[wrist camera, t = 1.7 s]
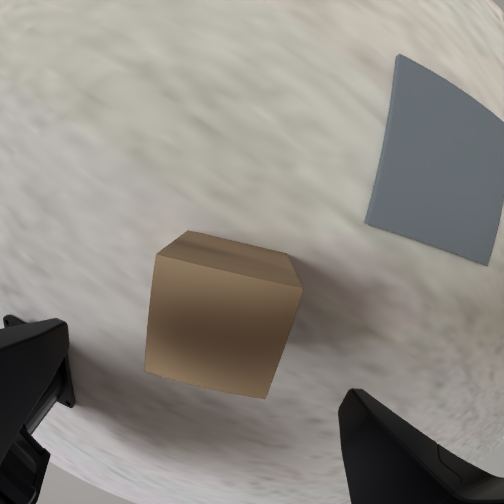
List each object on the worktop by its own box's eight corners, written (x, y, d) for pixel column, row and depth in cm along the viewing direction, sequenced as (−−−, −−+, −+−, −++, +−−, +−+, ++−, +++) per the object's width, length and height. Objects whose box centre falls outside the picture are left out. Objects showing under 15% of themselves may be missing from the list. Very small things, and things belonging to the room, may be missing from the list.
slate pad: (482, 264, 14) (487, 266, 14) (364, 223, 14) (368, 224, 13) (505, 128, 12) (510, 128, 12) (395, 56, 12) (399, 53, 11)
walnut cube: (261, 338, 15) (265, 399, 10) (173, 318, 15) (144, 371, 10) (286, 253, 14) (303, 288, 9) (188, 230, 14) (156, 254, 9)
